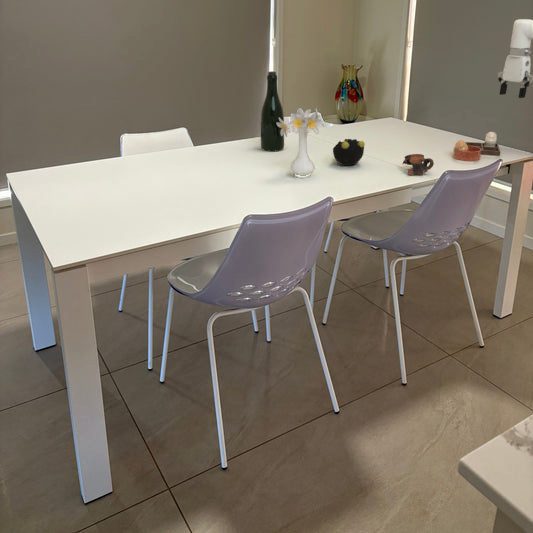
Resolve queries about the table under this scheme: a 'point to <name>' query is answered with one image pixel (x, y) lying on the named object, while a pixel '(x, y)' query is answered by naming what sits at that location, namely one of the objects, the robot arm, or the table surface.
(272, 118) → the wine bottle
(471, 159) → the bowl
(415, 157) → the pottery mug
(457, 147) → the egg
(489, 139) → the egg
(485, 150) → the egg holder
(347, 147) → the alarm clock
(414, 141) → the table surface
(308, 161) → the flower vase
